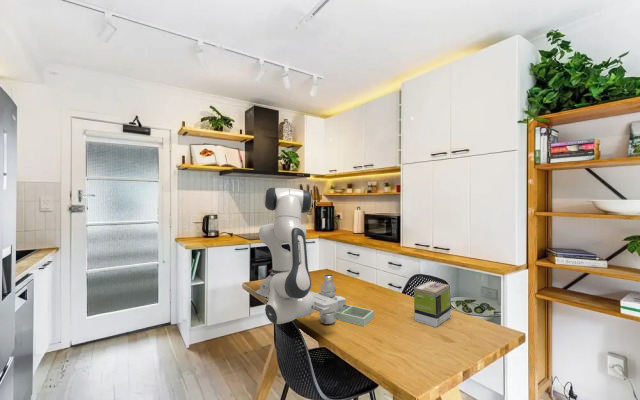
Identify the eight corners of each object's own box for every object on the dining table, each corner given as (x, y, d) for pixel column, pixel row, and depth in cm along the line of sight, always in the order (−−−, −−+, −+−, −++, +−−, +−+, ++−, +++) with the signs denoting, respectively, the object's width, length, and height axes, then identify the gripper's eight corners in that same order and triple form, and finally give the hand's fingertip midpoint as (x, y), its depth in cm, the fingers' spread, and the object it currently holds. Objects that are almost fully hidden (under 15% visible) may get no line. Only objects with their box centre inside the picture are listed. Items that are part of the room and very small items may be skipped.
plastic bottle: (319, 320, 128) (319, 273, 128) (334, 319, 128) (335, 273, 128) (320, 326, 121) (320, 277, 121) (337, 325, 122) (337, 277, 122)
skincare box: (334, 317, 131) (334, 300, 131) (327, 312, 136) (327, 296, 136) (345, 315, 134) (346, 298, 134) (339, 310, 139) (339, 294, 139)
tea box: (429, 311, 139) (429, 280, 139) (451, 318, 131) (451, 284, 131) (413, 320, 128) (413, 286, 128) (436, 328, 121) (436, 291, 121)
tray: (320, 315, 133) (320, 308, 133) (332, 307, 143) (332, 301, 143) (363, 326, 122) (363, 319, 122) (374, 317, 131) (374, 310, 131)
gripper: (322, 303, 108) (348, 295, 118) (289, 290, 124) (314, 283, 133) (322, 320, 108) (347, 310, 118) (289, 305, 124) (314, 297, 133)
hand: (329, 296), depth 125 cm, fingers closed on plastic bottle, 6 cm apart
